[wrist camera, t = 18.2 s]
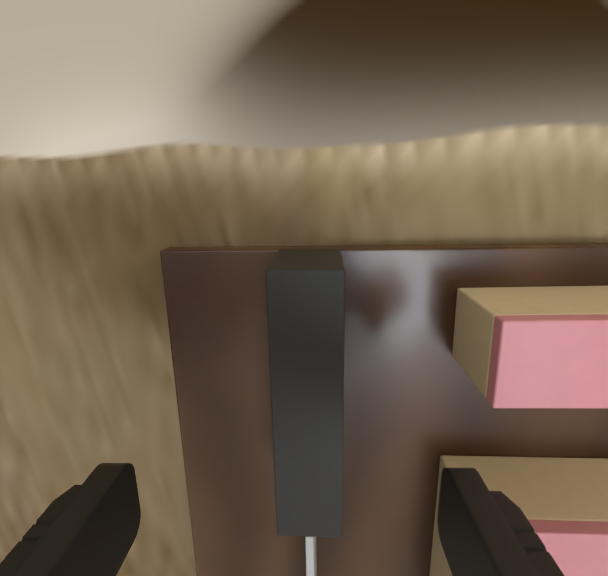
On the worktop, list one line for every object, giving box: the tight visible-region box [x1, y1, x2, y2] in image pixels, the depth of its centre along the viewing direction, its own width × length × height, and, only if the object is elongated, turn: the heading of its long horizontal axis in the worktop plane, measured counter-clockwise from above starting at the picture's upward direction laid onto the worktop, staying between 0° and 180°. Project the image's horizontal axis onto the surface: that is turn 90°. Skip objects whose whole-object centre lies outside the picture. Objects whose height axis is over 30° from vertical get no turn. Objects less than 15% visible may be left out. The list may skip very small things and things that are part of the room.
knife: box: [265, 249, 345, 576], centre depth 16 cm, size 19×2×4 cm, turn 1°
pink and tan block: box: [452, 286, 608, 408], centre depth 13 cm, size 8×3×4 cm, turn 92°
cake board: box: [160, 244, 608, 576], centre depth 18 cm, size 25×20×1 cm
